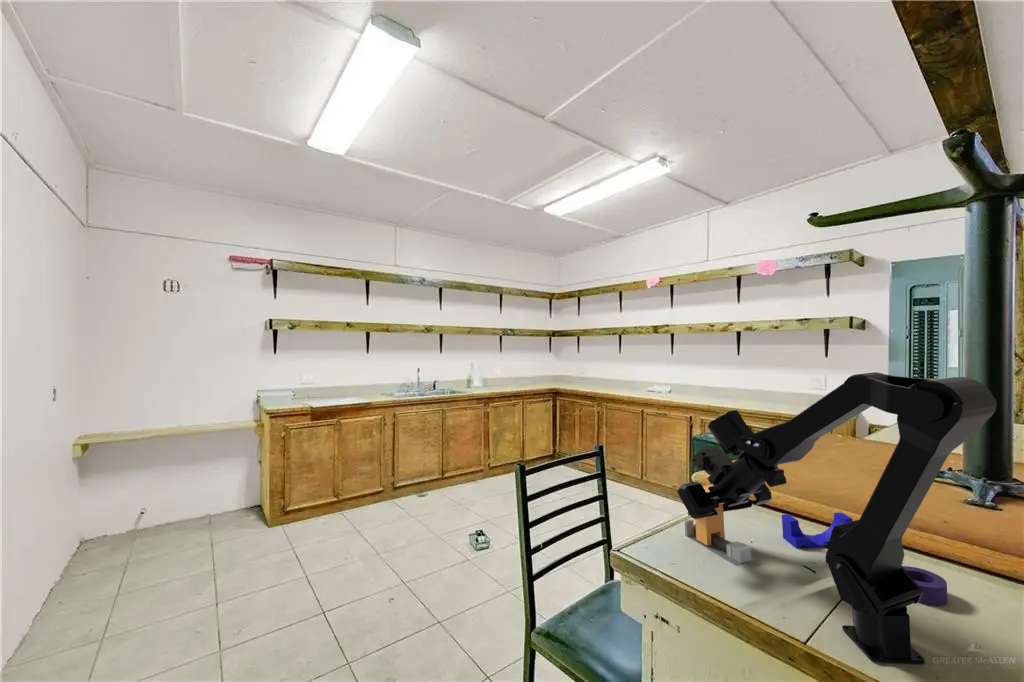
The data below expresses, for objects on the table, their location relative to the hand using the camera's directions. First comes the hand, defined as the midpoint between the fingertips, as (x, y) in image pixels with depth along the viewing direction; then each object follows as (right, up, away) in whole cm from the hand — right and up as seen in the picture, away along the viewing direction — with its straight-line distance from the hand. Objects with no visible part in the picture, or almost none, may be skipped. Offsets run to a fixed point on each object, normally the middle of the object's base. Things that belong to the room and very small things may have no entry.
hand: (704, 512), depth 90 cm
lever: (+24, -6, -18) cm, 31 cm away
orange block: (+1, -6, -1) cm, 6 cm away
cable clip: (+22, -6, -4) cm, 23 cm away
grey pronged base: (+1, -6, -3) cm, 7 cm away
